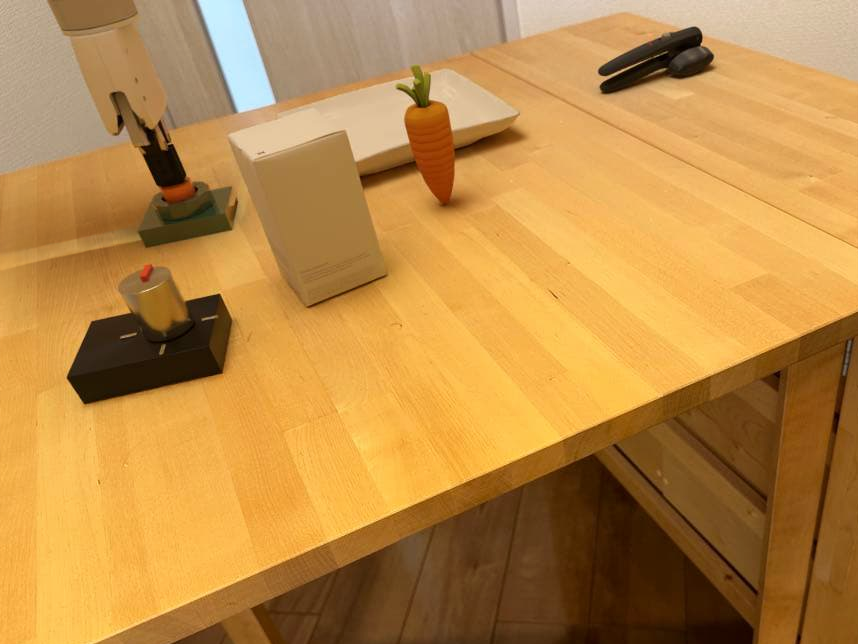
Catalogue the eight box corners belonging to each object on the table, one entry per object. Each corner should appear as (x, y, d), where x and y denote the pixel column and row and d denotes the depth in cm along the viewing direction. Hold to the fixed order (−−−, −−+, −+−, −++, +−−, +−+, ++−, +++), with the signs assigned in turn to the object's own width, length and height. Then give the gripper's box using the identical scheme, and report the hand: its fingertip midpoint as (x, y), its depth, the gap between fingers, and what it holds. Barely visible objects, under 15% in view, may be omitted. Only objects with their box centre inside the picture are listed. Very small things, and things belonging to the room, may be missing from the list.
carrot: (455, 215, 85) (426, 76, 76) (417, 212, 87) (383, 77, 77) (473, 194, 89) (447, 59, 79) (436, 193, 90) (405, 60, 81)
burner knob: (189, 336, 67) (163, 284, 63) (139, 346, 67) (109, 294, 63) (198, 309, 70) (173, 259, 67) (150, 319, 70) (122, 269, 67)
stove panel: (83, 404, 66) (64, 376, 64) (106, 346, 73) (90, 319, 71) (225, 372, 67) (211, 343, 65) (235, 318, 74) (222, 290, 72)
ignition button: (163, 206, 88) (156, 192, 87) (168, 193, 91) (161, 180, 90) (194, 200, 89) (188, 185, 87) (198, 187, 91) (192, 173, 90)
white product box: (391, 275, 77) (348, 128, 67) (307, 309, 74) (249, 160, 64) (358, 243, 83) (315, 104, 73) (279, 273, 80) (223, 133, 70)
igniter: (146, 248, 89) (129, 217, 86) (157, 218, 95) (143, 188, 92) (232, 230, 90) (218, 198, 87) (238, 202, 96) (225, 171, 93)
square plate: (527, 139, 100) (523, 109, 97) (325, 201, 92) (315, 171, 90) (453, 88, 119) (448, 62, 116) (281, 136, 112) (272, 110, 109)
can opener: (692, 58, 116) (692, 18, 112) (718, 69, 111) (719, 27, 107) (588, 87, 111) (584, 47, 108) (610, 100, 106) (607, 58, 103)
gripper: (76, 0, 82) (151, 164, 94) (35, 35, 71) (126, 216, 83) (146, -12, 83) (212, 152, 95) (117, 20, 71) (196, 202, 83)
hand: (172, 181), depth 89 cm, fingers closed
